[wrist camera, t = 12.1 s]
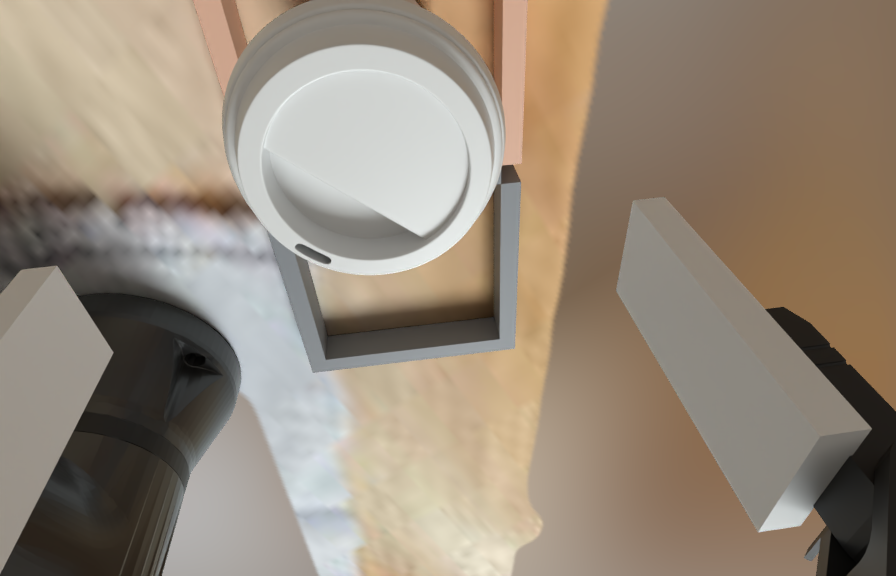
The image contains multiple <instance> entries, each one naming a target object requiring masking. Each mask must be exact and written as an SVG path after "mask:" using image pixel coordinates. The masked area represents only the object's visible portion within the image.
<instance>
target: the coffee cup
mask: <svg viewBox="0 0 896 576" xmlns="http://www.w3.org/2000/svg"><path fill="white" fill-rule="evenodd" d="M222 129H223V139H224V146H225V152H226V157H227V160H228V164H229V167H230V170H231V173H232V175H233V178H234V180H235V182H236V184H237V186H238V188H239V190H240V192H241V194H242V196H243V198H244V199H245V201H246V202H247V204H248V205H249V207H250V208H251V210H252V211H253V212H254V213H255V215H256V216H257V218H258V219H259V221H260V222H261V223H262V225H263V226H264V227H265V228H266V229H267V230H268V232H269V233H270V234H271V235H272V236H273V237H274V238H275V239H277V240H278V241H279V242H280V243H281V244H282V245H284V246H285V247H286V248H288V249H289V250H290V251H292V252H293V253H295V254H297V255H298V256H300V257H302V258H303V259H305V260H307V261H309V262H312V263H314V264H316V265H319V266H321V267H324V268H327V269H331V270H334V271H338V272H343V273H349V274H357V275H383V274H391V273H397V272H401V271H405V270H409V269H412V268H415V267H418V266H420V265H423V264H425V263H427V262H429V261H431V260H433V259H435V258H437V257H438V256H440V255H441V254H443V253H444V252H446V251H447V250H449V249H450V248H451V247H452V246H453V245H455V244H456V243H457V242H458V241H459V240H460V239H461V238H462V237H463V236H464V235H465V234H466V233H467V231H468V230H469V229H470V228H471V226H472V225H473V223H474V222H475V221H476V219H477V218H478V217H479V215H480V214H481V213H482V211H483V210H484V208H485V206H486V205H487V203H488V201H489V199H490V197H491V195H492V193H493V191H494V189H495V187H496V184H497V182H498V179H499V176H500V172H501V168H502V164H503V158H504V151H505V140H506V127H505V117H504V110H503V105H502V101H501V98H500V94H499V91H498V88H497V86H496V83H495V81H494V79H493V77H492V75H491V73H490V71H489V69H488V67H487V66H486V64H485V62H484V61H483V59H482V58H481V56H480V55H479V54H478V52H477V51H476V50H475V48H474V47H473V46H472V45H471V44H470V43H469V42H468V40H467V39H466V38H465V37H464V36H463V35H461V34H460V33H459V32H458V31H457V30H456V29H455V28H454V27H452V26H451V25H450V24H448V23H447V22H446V21H444V20H443V19H441V18H440V17H438V16H437V15H435V14H433V13H431V12H430V11H428V10H426V9H424V8H422V7H420V6H419V4H418V3H417V2H416V1H415V0H311V1H308V2H305V3H303V4H300V5H298V6H296V7H294V8H292V9H290V10H288V11H286V12H285V13H283V14H281V15H280V16H278V17H277V18H275V19H274V20H273V21H271V22H270V23H269V24H267V25H266V26H265V27H264V28H263V29H262V30H261V31H260V32H259V33H258V34H257V35H256V36H255V37H254V38H253V39H252V40H251V42H250V43H249V44H248V45H247V47H246V48H245V49H244V51H243V52H242V54H241V56H240V57H239V59H238V61H237V63H236V64H235V66H234V69H233V71H232V73H231V76H230V78H229V81H228V84H227V88H226V92H225V97H224V103H223V112H222Z"/></svg>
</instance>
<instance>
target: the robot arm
mask: <svg viewBox="0 0 896 576" xmlns="http://www.w3.org/2000/svg"><path fill="white" fill-rule="evenodd" d="M616 291H617V293H618V295H619V296H620V298H621V300H622V301H623V303H624V305H625V307H626V308H627V310H628V312H629V314H630V315H631V317H632V319H633V320H634V322H635V324H636V325H637V327H638V329H639V331H640V332H641V334H642V336H643V337H644V339H645V341H646V342H647V344H648V346H649V347H650V349H651V351H652V353H653V354H654V356H655V358H656V359H657V361H658V363H659V365H660V366H661V368H662V369H663V371H664V373H665V375H666V377H667V378H668V380H669V382H670V383H671V385H672V387H673V388H674V390H675V392H676V394H677V395H678V397H679V398H680V400H681V402H682V404H683V405H684V407H685V409H686V411H687V412H688V414H689V416H690V417H691V419H692V421H693V422H694V424H695V426H696V428H697V429H698V431H699V432H700V434H701V436H702V438H703V439H704V441H705V443H706V444H707V446H708V448H709V450H710V451H711V453H712V455H713V456H714V458H715V460H716V462H717V463H718V465H719V467H720V468H721V470H722V472H723V474H724V475H725V477H726V479H727V480H728V482H729V484H730V485H731V487H732V489H733V491H734V492H735V494H736V496H737V497H738V499H739V501H740V502H741V504H742V506H743V507H744V509H745V511H746V513H747V514H748V516H749V518H750V519H751V521H752V523H753V525H754V526H755V528H756V530H757V531H758V532H762V531H769V530H776V529H782V528H789V527H795V526H801V524H802V523H803V522H804V520H805V519H806V517H807V516H808V515H809V513H810V512H811V511H812V509H813V508H815V509H816V510H817V512H818V514H819V515H820V516H821V518H822V519H823V521H824V522H825V524H826V525H827V526H826V527H825V528H824V529H823V531H822V532H821V533H820V534H819V536H818V537H817V538H816V539H815V540H814V542H813V543H812V544H811V546H810V547H809V548H808V550H807V553H806V555H805V557H804V558H805V559H807V560H809V561H812V560H813V559H814V558H815V556H816V555H817V554H818V553H819V556H818V564H817V572H816V576H896V411H895V410H894V409H893V408H892V407H891V406H890V405H889V404H888V403H887V402H886V401H885V400H884V399H883V398H882V397H881V396H880V395H879V394H878V393H877V392H876V391H875V390H874V388H872V387H871V385H870V384H869V383H868V382H867V381H866V380H865V379H864V378H863V377H862V376H861V375H860V374H859V373H858V372H857V371H856V370H855V369H854V368H853V367H852V366H851V365H847V364H846V360H845V359H844V358H843V357H842V355H841V354H840V353H839V352H838V351H836V349H835V348H831V347H830V343H829V342H828V341H827V340H826V339H825V338H824V337H823V336H822V335H821V334H820V333H819V332H818V331H817V330H816V329H815V328H814V327H813V326H812V324H810V323H809V322H807V321H806V320H804V319H803V318H801V317H799V316H797V315H796V314H794V313H793V312H791V311H789V310H788V309H786V308H784V307H780V308H771V309H764V308H763V307H762V305H761V304H760V303H759V302H758V301H757V300H756V299H755V298H754V296H753V295H752V294H751V293H750V292H749V291H748V290H747V289H746V288H745V286H744V285H743V284H742V283H741V282H740V281H739V280H738V279H737V278H736V276H735V275H734V274H733V273H732V272H731V271H730V270H729V269H728V268H727V267H726V265H725V264H724V263H723V262H722V261H721V260H720V259H719V257H718V256H717V255H716V254H715V253H714V252H713V251H712V250H711V249H710V248H709V246H708V245H707V244H706V243H705V242H704V241H703V240H702V239H701V237H700V236H699V235H698V234H697V233H696V232H695V231H694V230H693V229H692V227H691V226H690V225H689V224H688V223H687V222H686V221H685V220H684V218H682V216H681V215H680V214H679V213H678V212H677V211H676V210H675V208H674V207H673V206H672V205H671V204H670V203H669V202H668V201H667V200H666V198H665V197H661V198H652V199H644V200H634V201H633V203H632V209H631V214H630V219H629V225H628V231H627V235H626V241H625V246H624V251H623V257H622V262H621V267H620V273H619V278H618V283H617V289H616ZM240 384H241V370H240V366H239V362H238V360H237V357H236V355H235V354H234V352H233V350H232V349H231V347H230V346H229V344H228V343H227V342H226V341H225V340H224V339H223V338H222V336H221V335H219V334H218V333H217V332H216V331H215V330H214V329H213V328H211V327H210V326H209V325H207V324H206V323H205V322H203V321H201V320H200V319H198V318H197V317H195V316H193V315H191V314H189V313H187V312H185V311H183V310H181V309H178V308H176V307H174V306H171V305H168V304H165V303H162V302H159V301H155V300H152V299H147V298H143V297H137V296H131V295H121V294H94V295H85V296H79V297H77V295H76V294H75V292H74V291H73V289H72V288H71V286H70V285H69V283H68V282H67V280H66V278H65V277H64V275H63V274H62V272H61V271H60V269H59V268H58V266H49V267H40V268H32V269H23V270H20V272H19V273H18V274H17V275H16V276H15V278H14V279H13V280H12V281H11V282H10V283H9V285H8V286H7V287H6V288H5V289H4V291H3V292H2V293H1V294H0V576H162V573H163V569H164V566H165V562H166V559H167V555H168V551H169V548H170V544H171V541H172V537H173V533H174V529H175V526H176V523H177V519H178V515H179V511H180V508H181V504H182V501H183V496H184V493H185V490H186V487H187V483H188V480H189V477H190V474H191V472H192V470H193V468H194V467H195V466H196V464H197V463H198V461H199V460H200V459H201V457H202V456H203V454H204V453H205V452H206V450H207V449H208V448H209V446H210V445H211V443H212V442H213V441H214V439H215V438H216V436H217V435H218V434H219V432H220V431H221V430H222V428H223V427H224V425H225V424H226V423H227V421H228V420H229V418H230V416H231V414H232V412H233V410H234V407H235V404H236V400H237V396H238V392H239V388H240Z"/></svg>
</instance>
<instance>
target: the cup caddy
mask: <svg viewBox="0 0 896 576" xmlns="http://www.w3.org/2000/svg"><path fill="white" fill-rule="evenodd" d="M193 2H194V5H195V8H196V11H197V14H198V17H199V21H200V24H201V27H202V30H203V33H204V36H205V39H206V42H207V45H208V49H209V52H210V55H211V58H212V61H213V64H214V67H215V70H216V73H217V77H218V80H219V83H220V86H221V89H222V92H223V95H224V97H225V92H226V88H227V84H228V81H229V78H230V76H231V73H232V71H233V69H234V66H235V64H236V63H237V61H238V59H239V57H240V56H241V54H242V52H243V51H244V49H245V48H246V47H247V43H246V39H245V35H244V32H243V28H242V25H241V21H240V17H239V14H238V10H237V7H236V3H235V0H193ZM527 3H528V0H494V81H495V83H496V86H497V88H498V91H499V94H500V98H501V101H502V105H503V110H504V117H505V127H506V140H505V151H504V158H503V164H502V168H501V172H500V176H499V179H498V182H497V184H496V187H495V189H494V317H490V318H481V319H473V320H464V321H455V322H447V323H438V324H429V325H421V326H412V327H404V328H395V329H386V330H378V331H369V332H360V333H352V334H343V335H335V336H328V335H327V331H326V328H325V324H324V320H323V317H322V313H321V310H320V306H319V302H318V299H317V295H316V292H315V288H314V284H313V281H312V277H311V274H310V270H309V266H308V263H307V260H305V259H303V258H302V257H300V256H298V255H297V254H295V253H293V252H292V251H290V250H289V249H288V248H286V247H285V246H284V245H282V244H281V243H280V242H279V241H278V240H277V239H275V238H274V237H273V236H272V235H271V234H270V233H269V232H268V230H267V232H268V235H269V238H270V241H271V244H272V247H273V250H274V254H275V257H276V260H277V263H278V266H279V269H280V272H281V275H282V278H283V281H284V285H285V288H286V291H287V294H288V297H289V300H290V303H291V306H292V309H293V313H294V316H295V319H296V322H297V325H298V328H299V331H300V334H301V337H302V340H303V344H304V347H305V350H306V353H307V356H308V359H309V362H310V365H311V368H312V372H313V373H315V372H323V371H331V370H340V369H348V368H356V367H365V366H373V365H382V364H390V363H398V362H407V361H415V360H423V359H432V358H440V357H449V356H457V355H465V354H474V353H482V352H491V351H499V350H507V349H515V333H516V305H517V278H518V250H519V223H520V195H521V181H520V179H519V177H518V175H517V172H516V170H515V168H514V166H513V164H522V140H523V113H524V86H525V58H526V31H527Z"/></svg>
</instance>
